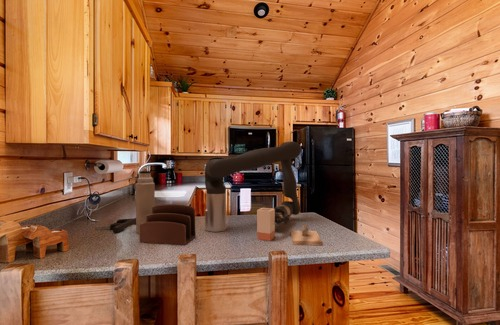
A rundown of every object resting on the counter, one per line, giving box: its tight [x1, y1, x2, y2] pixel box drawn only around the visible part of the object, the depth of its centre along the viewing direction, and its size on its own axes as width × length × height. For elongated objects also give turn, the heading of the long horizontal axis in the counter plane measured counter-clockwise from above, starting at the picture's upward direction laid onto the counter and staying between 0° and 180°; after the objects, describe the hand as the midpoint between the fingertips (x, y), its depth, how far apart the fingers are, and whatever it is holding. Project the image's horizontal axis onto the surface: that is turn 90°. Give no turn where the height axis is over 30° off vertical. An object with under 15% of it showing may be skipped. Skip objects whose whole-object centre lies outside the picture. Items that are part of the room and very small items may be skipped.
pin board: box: [290, 224, 323, 246], centre depth 99 cm, size 11×14×6 cm
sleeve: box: [256, 207, 276, 242], centre depth 101 cm, size 6×6×12 cm
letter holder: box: [139, 203, 197, 246], centre depth 100 cm, size 10×20×14 cm, turn 80°
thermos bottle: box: [135, 170, 156, 235], centre depth 112 cm, size 8×8×28 cm
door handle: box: [94, 217, 136, 234], centre depth 120 cm, size 3×20×16 cm
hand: (268, 220), depth 103 cm, fingers open, 8 cm apart
